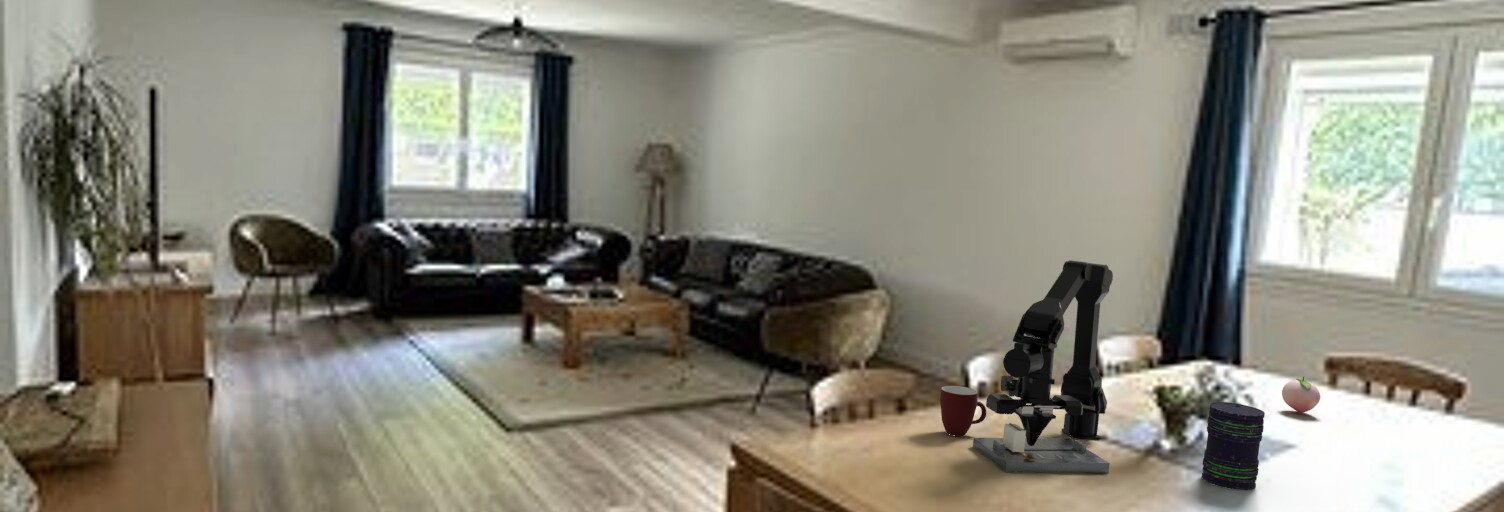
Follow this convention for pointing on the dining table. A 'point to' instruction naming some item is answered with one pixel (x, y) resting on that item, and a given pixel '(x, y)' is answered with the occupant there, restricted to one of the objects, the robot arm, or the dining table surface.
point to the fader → (1014, 437)
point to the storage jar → (1233, 446)
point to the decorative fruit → (1300, 395)
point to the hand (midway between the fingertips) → (1030, 445)
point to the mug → (959, 409)
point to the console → (1043, 456)
